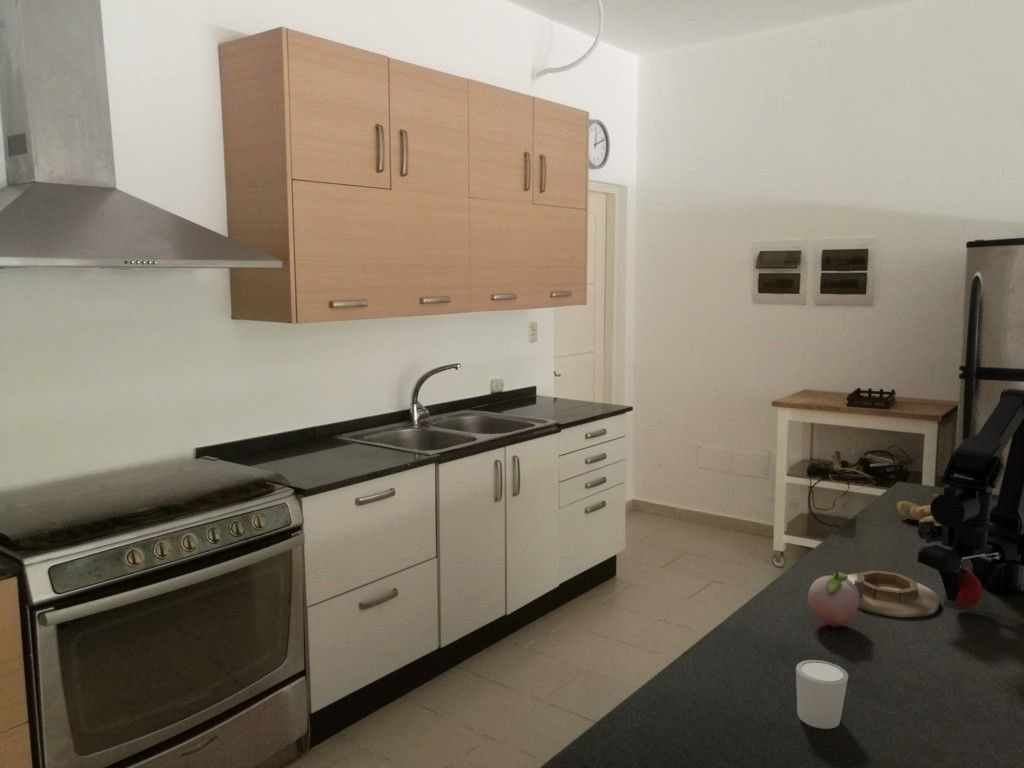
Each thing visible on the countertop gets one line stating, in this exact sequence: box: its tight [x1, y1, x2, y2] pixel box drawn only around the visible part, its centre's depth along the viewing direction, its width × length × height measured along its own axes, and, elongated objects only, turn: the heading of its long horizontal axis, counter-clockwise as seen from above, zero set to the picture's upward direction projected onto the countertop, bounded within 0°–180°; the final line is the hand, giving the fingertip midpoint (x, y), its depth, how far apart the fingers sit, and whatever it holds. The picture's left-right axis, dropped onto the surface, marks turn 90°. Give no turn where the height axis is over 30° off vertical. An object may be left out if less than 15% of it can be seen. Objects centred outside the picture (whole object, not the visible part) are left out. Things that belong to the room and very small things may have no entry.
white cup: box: [795, 659, 849, 730], centre depth 116 cm, size 7×7×7 cm
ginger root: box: [896, 493, 939, 524], centre depth 200 cm, size 16×16×8 cm
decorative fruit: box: [807, 571, 859, 628], centre depth 145 cm, size 9×8×10 cm
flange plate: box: [846, 569, 940, 618], centre depth 158 cm, size 18×18×4 cm
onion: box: [952, 565, 983, 610], centre depth 151 cm, size 6×6×8 cm
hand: (963, 598), depth 152 cm, fingers closed on onion, 6 cm apart
